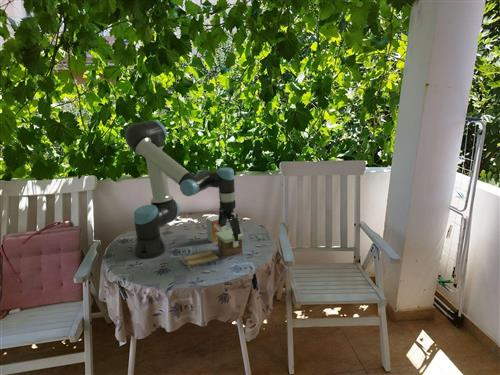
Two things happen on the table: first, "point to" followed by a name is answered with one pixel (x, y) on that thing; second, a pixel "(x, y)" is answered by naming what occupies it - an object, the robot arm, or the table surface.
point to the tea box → (229, 248)
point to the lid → (227, 236)
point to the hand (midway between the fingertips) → (229, 242)
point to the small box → (213, 228)
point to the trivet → (200, 258)
